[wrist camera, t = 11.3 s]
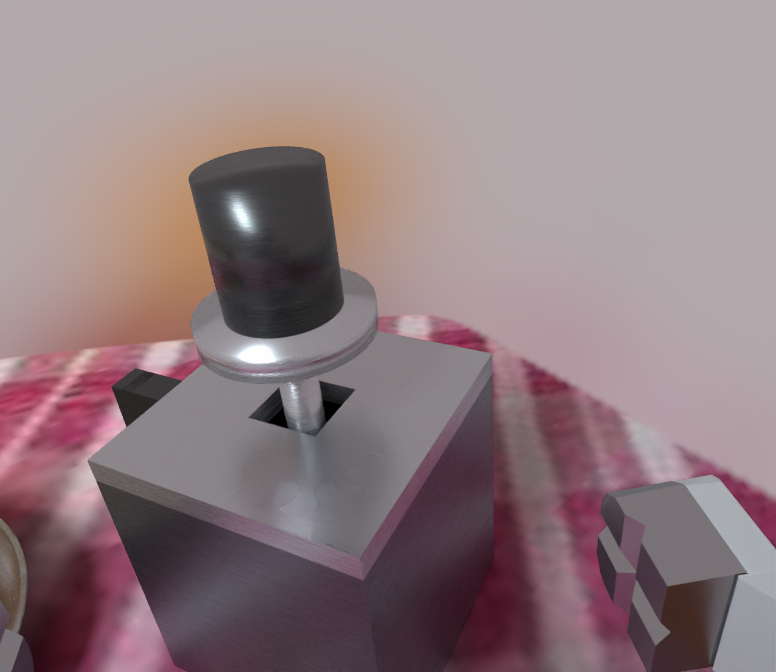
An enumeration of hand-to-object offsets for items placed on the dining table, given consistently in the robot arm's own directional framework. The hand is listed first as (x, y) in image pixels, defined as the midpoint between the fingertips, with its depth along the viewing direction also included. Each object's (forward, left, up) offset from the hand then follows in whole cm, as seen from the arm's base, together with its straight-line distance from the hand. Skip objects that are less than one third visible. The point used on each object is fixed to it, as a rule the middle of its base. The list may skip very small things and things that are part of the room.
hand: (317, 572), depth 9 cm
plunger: (+7, -8, -13) cm, 17 cm away
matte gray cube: (+8, -8, -15) cm, 19 cm away
